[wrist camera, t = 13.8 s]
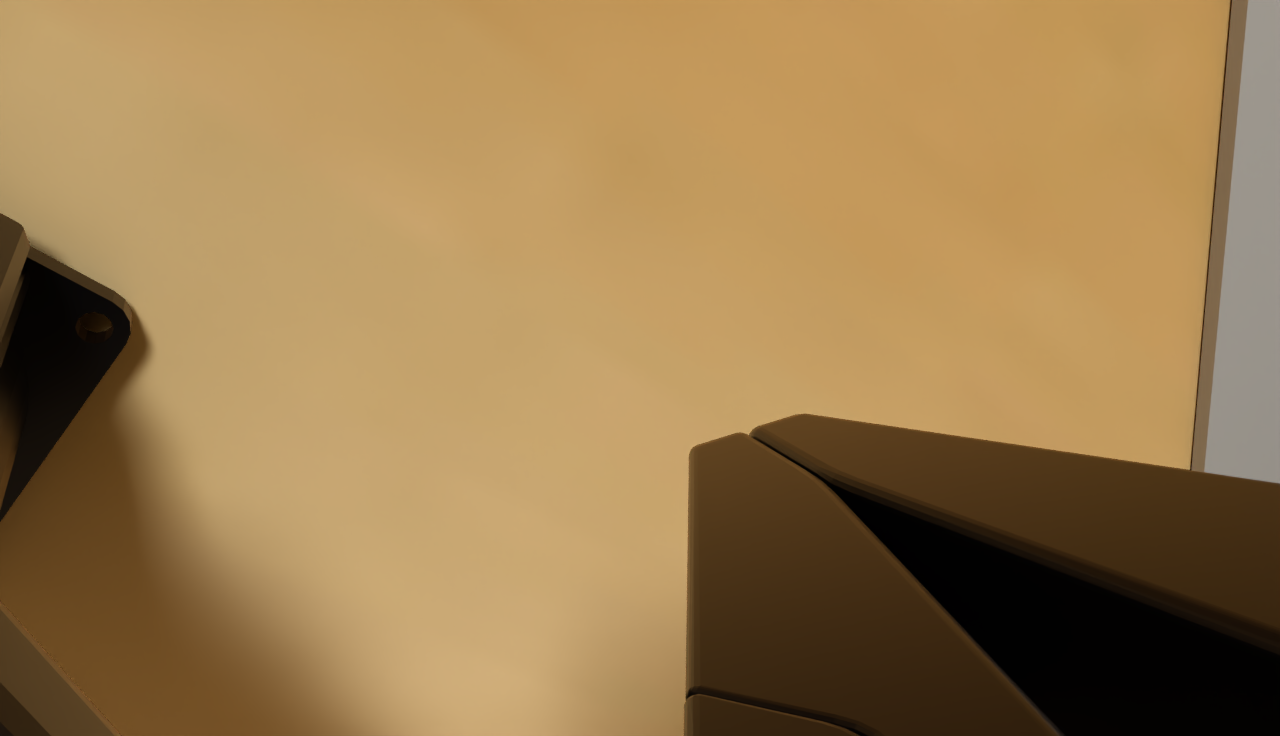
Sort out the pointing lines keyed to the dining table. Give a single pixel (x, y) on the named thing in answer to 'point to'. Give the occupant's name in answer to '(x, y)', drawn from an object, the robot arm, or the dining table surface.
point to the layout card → (1244, 262)
